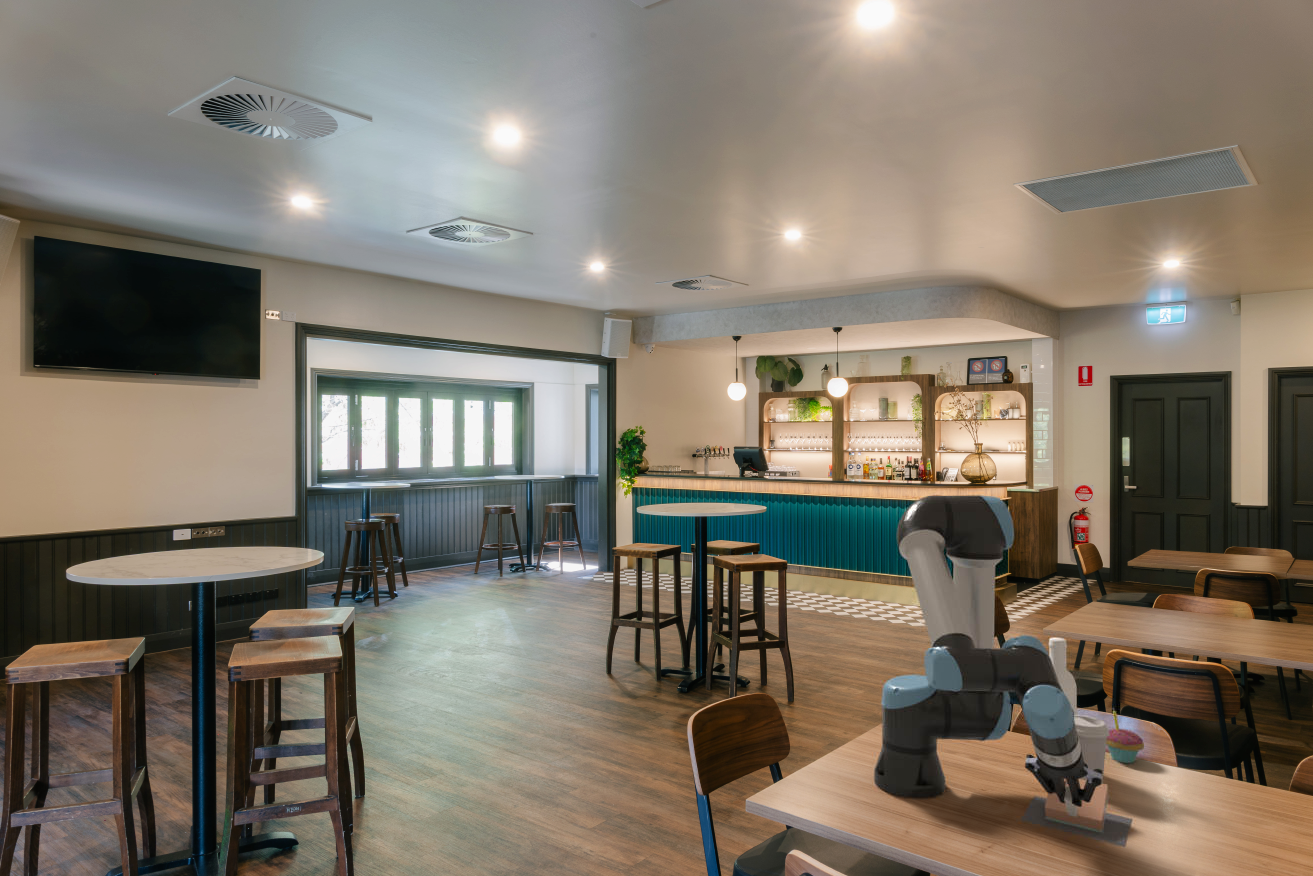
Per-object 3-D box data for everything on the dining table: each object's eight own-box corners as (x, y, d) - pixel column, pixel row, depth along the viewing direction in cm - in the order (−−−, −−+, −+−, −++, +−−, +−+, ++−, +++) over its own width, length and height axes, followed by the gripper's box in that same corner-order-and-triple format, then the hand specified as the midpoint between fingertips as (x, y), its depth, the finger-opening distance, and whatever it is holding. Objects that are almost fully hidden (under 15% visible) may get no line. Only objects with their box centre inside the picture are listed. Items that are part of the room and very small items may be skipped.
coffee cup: (1116, 800, 168) (1116, 729, 168) (1068, 796, 170) (1067, 726, 170) (1100, 782, 177) (1100, 715, 178) (1055, 778, 179) (1054, 712, 179)
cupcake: (1101, 760, 190) (1100, 710, 190) (1104, 750, 197) (1104, 702, 197) (1143, 769, 185) (1142, 717, 185) (1145, 757, 192) (1144, 708, 192)
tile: (1044, 807, 157) (1052, 772, 164) (1045, 818, 158) (1054, 784, 165) (1101, 821, 151) (1107, 784, 158) (1102, 833, 152) (1108, 796, 159)
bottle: (1078, 763, 188) (1077, 637, 188) (1076, 775, 181) (1075, 644, 182) (1041, 757, 192) (1040, 633, 193) (1038, 767, 185) (1037, 640, 186)
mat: (1020, 822, 157) (1020, 819, 157) (1034, 798, 168) (1034, 795, 168) (1124, 849, 147) (1124, 846, 147) (1132, 821, 158) (1132, 818, 158)
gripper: (1015, 759, 142) (1034, 818, 155) (1097, 777, 134) (1110, 838, 147) (1021, 722, 146) (1039, 782, 159) (1101, 737, 138) (1113, 799, 152)
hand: (1073, 809), depth 153 cm, fingers closed
